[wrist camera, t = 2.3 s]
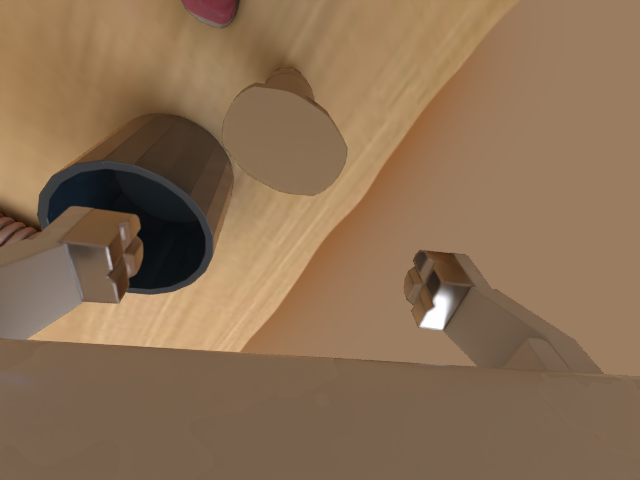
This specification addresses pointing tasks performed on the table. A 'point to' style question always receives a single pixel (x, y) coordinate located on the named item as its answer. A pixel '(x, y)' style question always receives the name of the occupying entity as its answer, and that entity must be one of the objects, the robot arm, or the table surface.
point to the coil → (5, 235)
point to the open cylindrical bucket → (153, 194)
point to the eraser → (212, 11)
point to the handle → (284, 135)
